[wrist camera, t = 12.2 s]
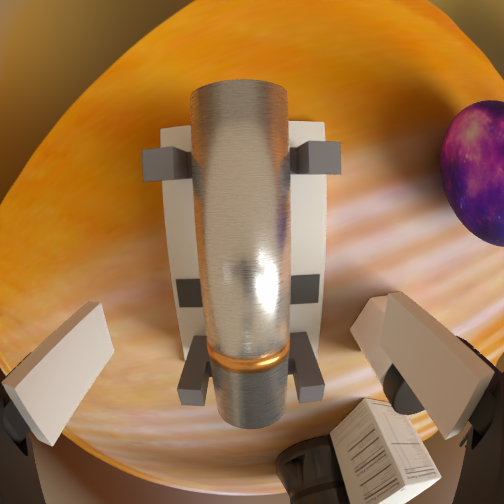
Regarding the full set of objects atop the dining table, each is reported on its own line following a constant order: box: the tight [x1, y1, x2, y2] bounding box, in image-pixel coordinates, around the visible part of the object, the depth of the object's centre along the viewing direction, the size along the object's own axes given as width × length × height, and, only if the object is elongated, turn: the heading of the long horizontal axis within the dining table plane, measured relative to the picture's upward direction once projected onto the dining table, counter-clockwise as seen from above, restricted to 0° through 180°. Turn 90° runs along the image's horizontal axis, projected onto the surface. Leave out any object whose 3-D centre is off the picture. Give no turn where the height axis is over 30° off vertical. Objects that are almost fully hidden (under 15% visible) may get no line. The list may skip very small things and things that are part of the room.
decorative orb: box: [440, 100, 504, 247], centre depth 17 cm, size 15×15×15 cm
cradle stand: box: [142, 121, 341, 406], centre depth 22 cm, size 26×15×10 cm, turn 2°
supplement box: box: [330, 398, 441, 504], centre depth 27 cm, size 10×9×17 cm
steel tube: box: [190, 80, 291, 429], centre depth 18 cm, size 24×6×6 cm, turn 2°
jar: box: [350, 295, 425, 415], centre depth 24 cm, size 9×8×12 cm
